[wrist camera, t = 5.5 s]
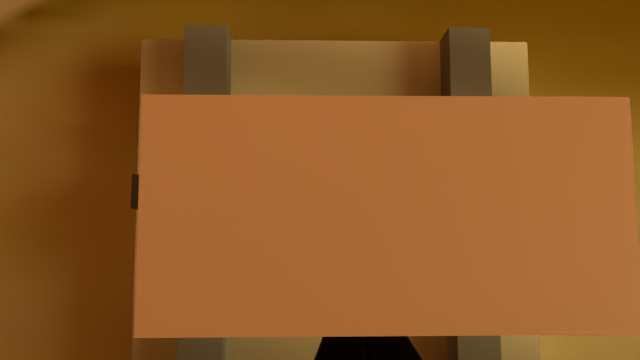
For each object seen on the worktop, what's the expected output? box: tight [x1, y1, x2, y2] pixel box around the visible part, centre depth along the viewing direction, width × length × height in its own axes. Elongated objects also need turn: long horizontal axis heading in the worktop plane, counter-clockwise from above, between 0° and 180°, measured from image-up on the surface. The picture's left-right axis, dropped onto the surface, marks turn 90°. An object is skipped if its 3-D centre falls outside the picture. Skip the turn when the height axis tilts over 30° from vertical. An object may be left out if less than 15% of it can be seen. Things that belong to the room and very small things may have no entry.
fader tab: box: [134, 94, 640, 338], centre depth 10 cm, size 4×5×9 cm
